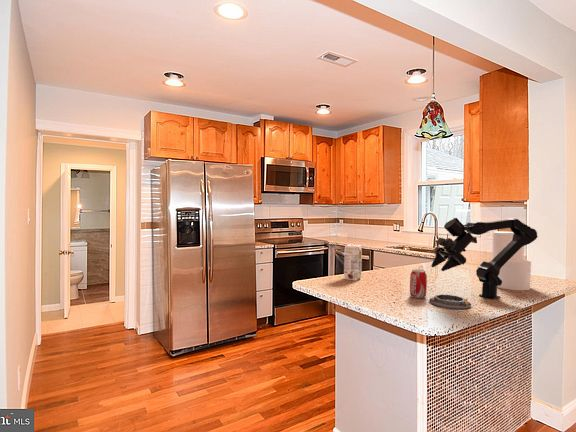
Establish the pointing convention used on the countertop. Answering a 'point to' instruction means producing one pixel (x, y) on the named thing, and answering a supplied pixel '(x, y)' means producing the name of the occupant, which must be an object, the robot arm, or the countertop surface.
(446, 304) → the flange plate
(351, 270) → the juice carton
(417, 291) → the soda can
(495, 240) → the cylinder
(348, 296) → the countertop surface
